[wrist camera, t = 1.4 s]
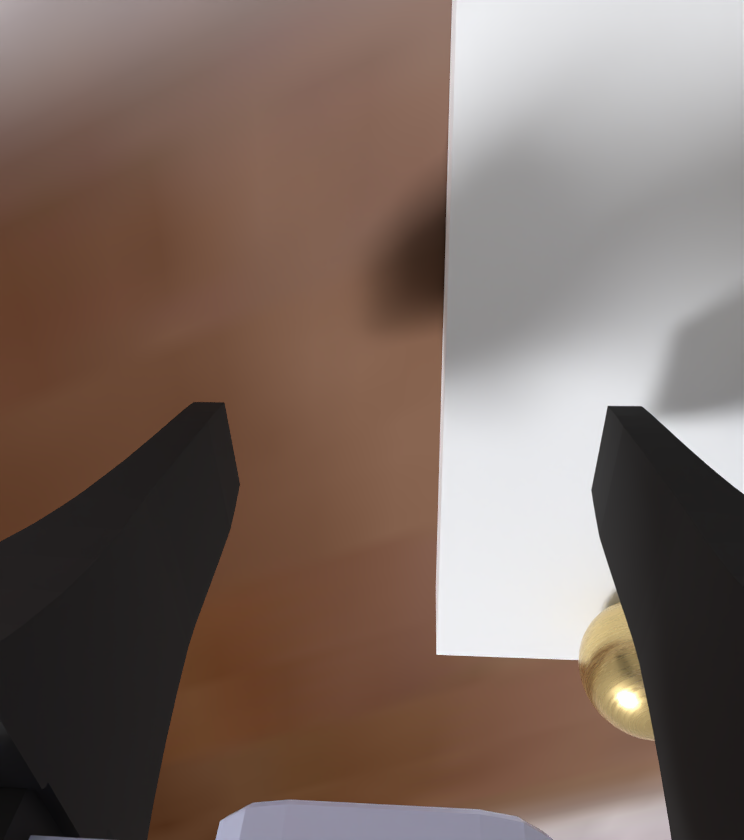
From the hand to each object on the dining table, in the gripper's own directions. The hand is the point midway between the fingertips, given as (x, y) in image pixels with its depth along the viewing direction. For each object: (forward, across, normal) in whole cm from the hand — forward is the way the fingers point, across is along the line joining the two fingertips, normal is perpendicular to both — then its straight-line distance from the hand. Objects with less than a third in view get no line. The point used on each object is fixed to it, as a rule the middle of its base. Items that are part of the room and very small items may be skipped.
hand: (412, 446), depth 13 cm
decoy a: (0, -6, +6) cm, 9 cm away
